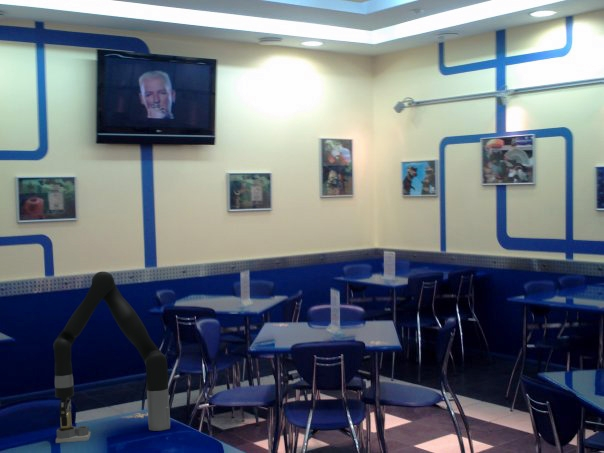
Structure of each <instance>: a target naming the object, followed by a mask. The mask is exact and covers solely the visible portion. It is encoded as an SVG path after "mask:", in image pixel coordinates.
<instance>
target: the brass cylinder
mask: <svg viewBox="0 0 604 453" xmlns="http://www.w3.org/2000/svg"><path fill="white" fill-rule="evenodd" d="M62 414H65V412H63V413H62ZM59 418H60V419H59V420H60V428H61V431H67V430H71V429H72V426H73V424H72V422H73V420H72V410H71V411H68V412H67V426H62V422H61V417H60V416H59Z"/></svg>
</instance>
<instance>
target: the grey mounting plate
mask: <svg viewBox="0 0 604 453" xmlns="http://www.w3.org/2000/svg"><path fill="white" fill-rule="evenodd" d="M91 435H92V431H89V426H88V425H81V426H77V427H76V426H75V425H74V426H73V425H72V429H71V430H67V431H61V427H58V428H57V429H56V438H55V444H61V443H72V442H74V443H75V442H84V441H85V442H86V441H89V440H90V437H91Z"/></svg>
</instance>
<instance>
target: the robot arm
mask: <svg viewBox="0 0 604 453" xmlns="http://www.w3.org/2000/svg"><path fill="white" fill-rule="evenodd" d="M87 291H88V292H87V293H86V295H85V297H84V298H83V300H82V302H80V304H79V305H78V307H77V308H76V309H75V310H74V312H73V313H72V315H71V317H69V319H68V321H67V323H66V325H65V326H64V327H63V329H62V331H60V333H59V335H58V336H57V338H56V339H55V340H54V342H53V344H52V346H53V347H52V348H53V355H54V356H53V357H54V395H55V398H57V399H60V401H59V404H58V406H59V407H58V408H59V418H60V417H61V420H60V423H61V422H62V426H67V412H68V411H71V412H72V399H71V398H72V397H73V396H74V395H75V389H74V388H75V386H74V376H73V375H74V374H73V365H72V364H73V363H72V345H73V344H74V342H75V341H76V339H77V338H78V336H80V335H81V333H82V331H83V330H84V328H85V327H86V326H87V324H88V322H89V320H90V319H91V316H92V315H93V313H94V312H95V309H96V308H97V307H98V305H99V304H100V303H101V301H102V300H103V301H104V303H106V305H107V307H108V309H109V311H110V313H111V316H112V317H113V319H114V321H115V322H116V324H117V326H118V327H119V329H120V330H121V331H122V333H123V335H124V336H125V337H126V338H127V340H128V341H129V342H130V343H131V344H132V345H133V346H134V348H136V350H137V351H138V353H139V354H140V357H141V358H142V361H143V362H144V364H145V375H146V377H145V378H146V399H147V403H146V404H147V420H148V422H147V423H148V430H149V431H153V432H155V431H158V432H161V431H166V430H170V429H171V415H170V414H171V413H170V411H171V410H170V399H169V398H170V397H169V396H170V395H169V370H168V360H167V357H166V355H164V353H163V352H162V351H161V350H160V349H159V348H158V346H157V345H156V344H155V342H154V341H153V340H152V338H151V336H150V335H149V332H148V330H147V328H146V326H145V325H144V323H143V321H142V319H141V318H140V317H139V315H138V314H137V312H136V310H135V309H134V308H133V307H132V305H130V303H129V302H128V301H127V300H126V299H125V297H124V296H123V295H122V294H121V292H120V290H119V289H118V286H117V285H116V283H115V279H114V277H113V275H112V274H111V273H109V272H107V271H99V272H96V273H95V274H94V275H93V277H92V279H91V284H90V287H89V289H88V290H87ZM63 412H65V414H62V413H63Z"/></svg>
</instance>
